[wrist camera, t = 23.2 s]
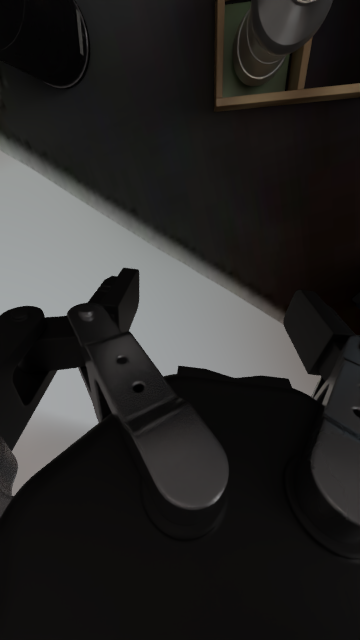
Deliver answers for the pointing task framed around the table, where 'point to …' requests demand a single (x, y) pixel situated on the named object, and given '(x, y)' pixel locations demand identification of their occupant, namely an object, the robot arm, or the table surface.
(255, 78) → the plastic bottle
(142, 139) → the table surface
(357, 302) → the magazine
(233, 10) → the brown open rectangular box
